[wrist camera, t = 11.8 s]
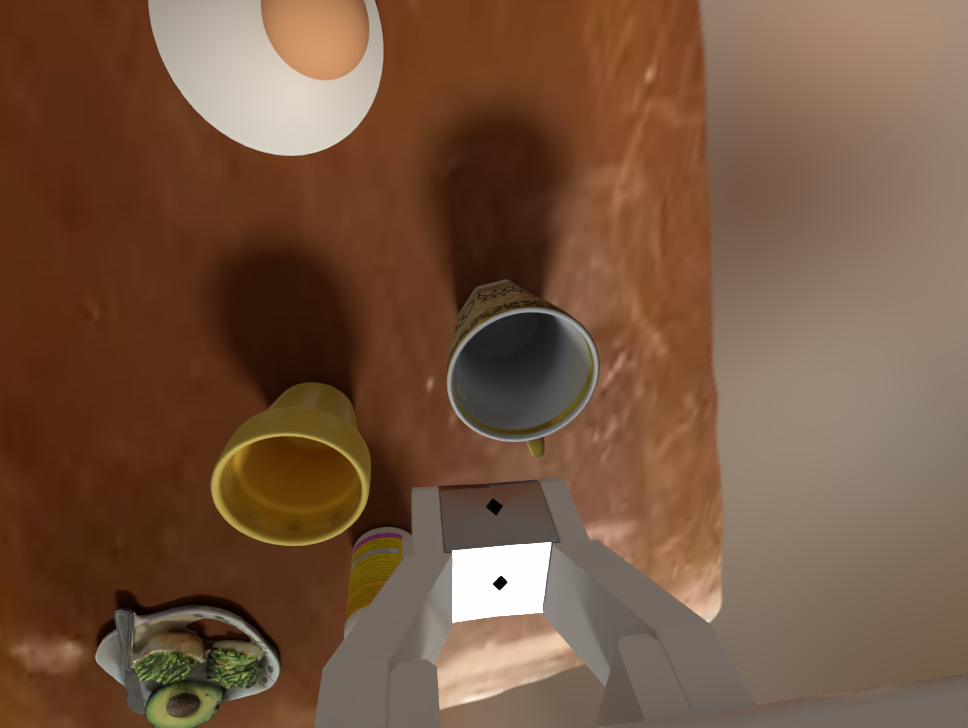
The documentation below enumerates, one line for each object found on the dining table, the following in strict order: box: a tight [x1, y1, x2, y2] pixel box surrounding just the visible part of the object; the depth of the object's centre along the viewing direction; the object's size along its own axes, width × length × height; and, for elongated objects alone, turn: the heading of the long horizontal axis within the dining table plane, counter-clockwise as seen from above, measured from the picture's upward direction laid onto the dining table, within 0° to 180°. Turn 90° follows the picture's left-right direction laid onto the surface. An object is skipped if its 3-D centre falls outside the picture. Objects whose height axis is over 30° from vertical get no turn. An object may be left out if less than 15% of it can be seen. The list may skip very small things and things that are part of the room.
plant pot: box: [211, 382, 371, 546], centre depth 38 cm, size 10×10×10 cm
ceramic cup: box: [447, 280, 600, 458], centre depth 36 cm, size 13×10×10 cm
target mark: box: [148, 0, 383, 156], centre depth 29 cm, size 13×13×1 cm
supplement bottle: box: [344, 527, 412, 639], centre depth 45 cm, size 7×7×13 cm
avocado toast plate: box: [96, 605, 281, 728], centre depth 52 cm, size 19×18×5 cm
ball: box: [261, 0, 369, 80], centre depth 27 cm, size 6×6×6 cm
